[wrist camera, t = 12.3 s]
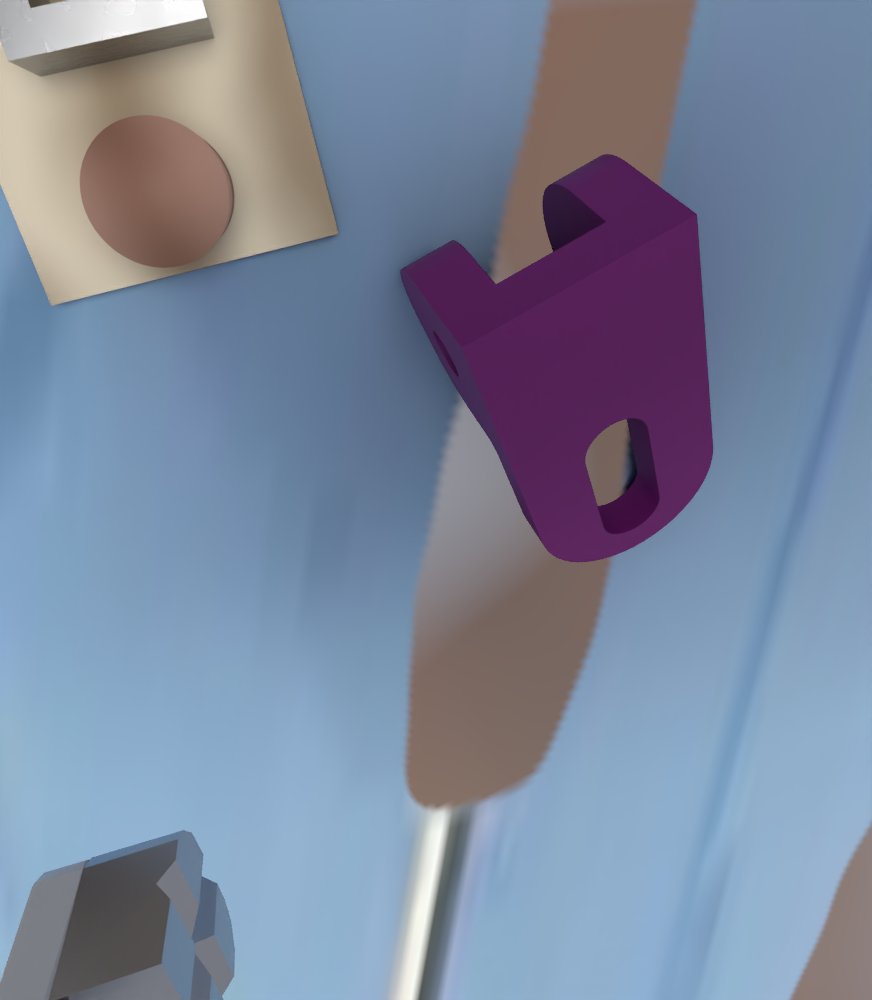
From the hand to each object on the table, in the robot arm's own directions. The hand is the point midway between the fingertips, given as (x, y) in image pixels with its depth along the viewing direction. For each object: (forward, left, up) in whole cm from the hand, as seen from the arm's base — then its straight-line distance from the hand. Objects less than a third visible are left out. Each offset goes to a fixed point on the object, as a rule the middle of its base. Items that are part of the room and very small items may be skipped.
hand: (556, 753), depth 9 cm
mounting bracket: (-10, +6, -30) cm, 32 cm away
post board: (+5, -11, -29) cm, 31 cm away
